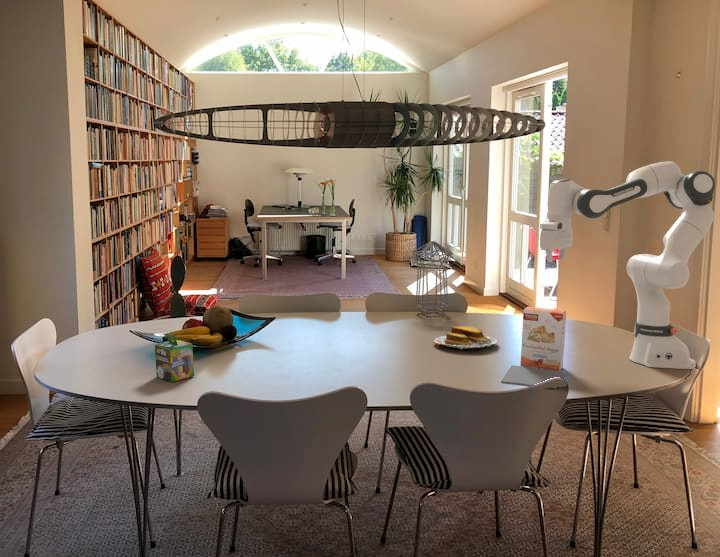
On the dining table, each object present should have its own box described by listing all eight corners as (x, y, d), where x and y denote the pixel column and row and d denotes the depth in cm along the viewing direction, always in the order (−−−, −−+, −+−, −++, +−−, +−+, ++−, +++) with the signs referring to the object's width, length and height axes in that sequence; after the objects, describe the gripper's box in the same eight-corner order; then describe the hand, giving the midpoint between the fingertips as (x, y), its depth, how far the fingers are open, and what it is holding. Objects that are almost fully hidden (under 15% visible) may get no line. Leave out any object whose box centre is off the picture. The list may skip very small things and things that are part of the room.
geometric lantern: (422, 318, 333) (422, 243, 328) (410, 312, 348) (410, 240, 343) (454, 316, 337) (454, 241, 332) (441, 310, 352) (442, 239, 347)
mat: (563, 372, 252) (563, 371, 251) (557, 389, 233) (557, 387, 233) (511, 366, 258) (511, 365, 258) (501, 382, 240) (501, 381, 239)
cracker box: (519, 366, 259) (522, 308, 255) (524, 362, 264) (527, 305, 260) (559, 371, 252) (562, 313, 249) (563, 367, 257) (566, 310, 254)
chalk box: (194, 377, 242) (193, 333, 240) (171, 383, 235) (169, 338, 233) (178, 371, 248) (177, 329, 246) (155, 377, 242) (153, 334, 239)
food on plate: (432, 352, 276) (432, 336, 275) (433, 337, 301) (434, 321, 300) (500, 355, 273) (500, 338, 272) (496, 339, 298) (496, 324, 297)
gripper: (562, 221, 276) (559, 257, 278) (537, 224, 260) (535, 262, 263) (578, 222, 272) (575, 259, 274) (554, 225, 256) (551, 264, 259)
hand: (555, 260), depth 268 cm, fingers open, 8 cm apart
